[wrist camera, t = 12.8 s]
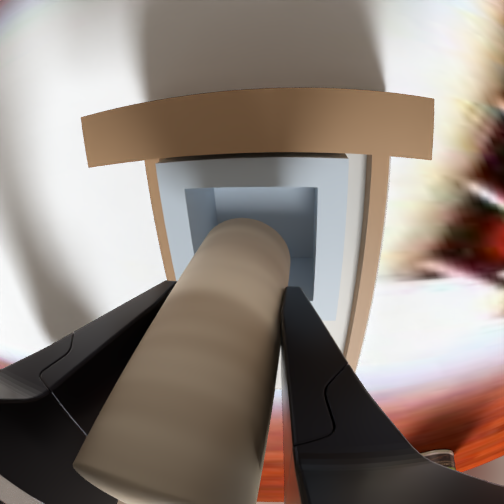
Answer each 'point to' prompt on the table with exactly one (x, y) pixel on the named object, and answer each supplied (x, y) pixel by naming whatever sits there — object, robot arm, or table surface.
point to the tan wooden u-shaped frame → (283, 140)
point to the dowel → (199, 380)
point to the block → (264, 210)
